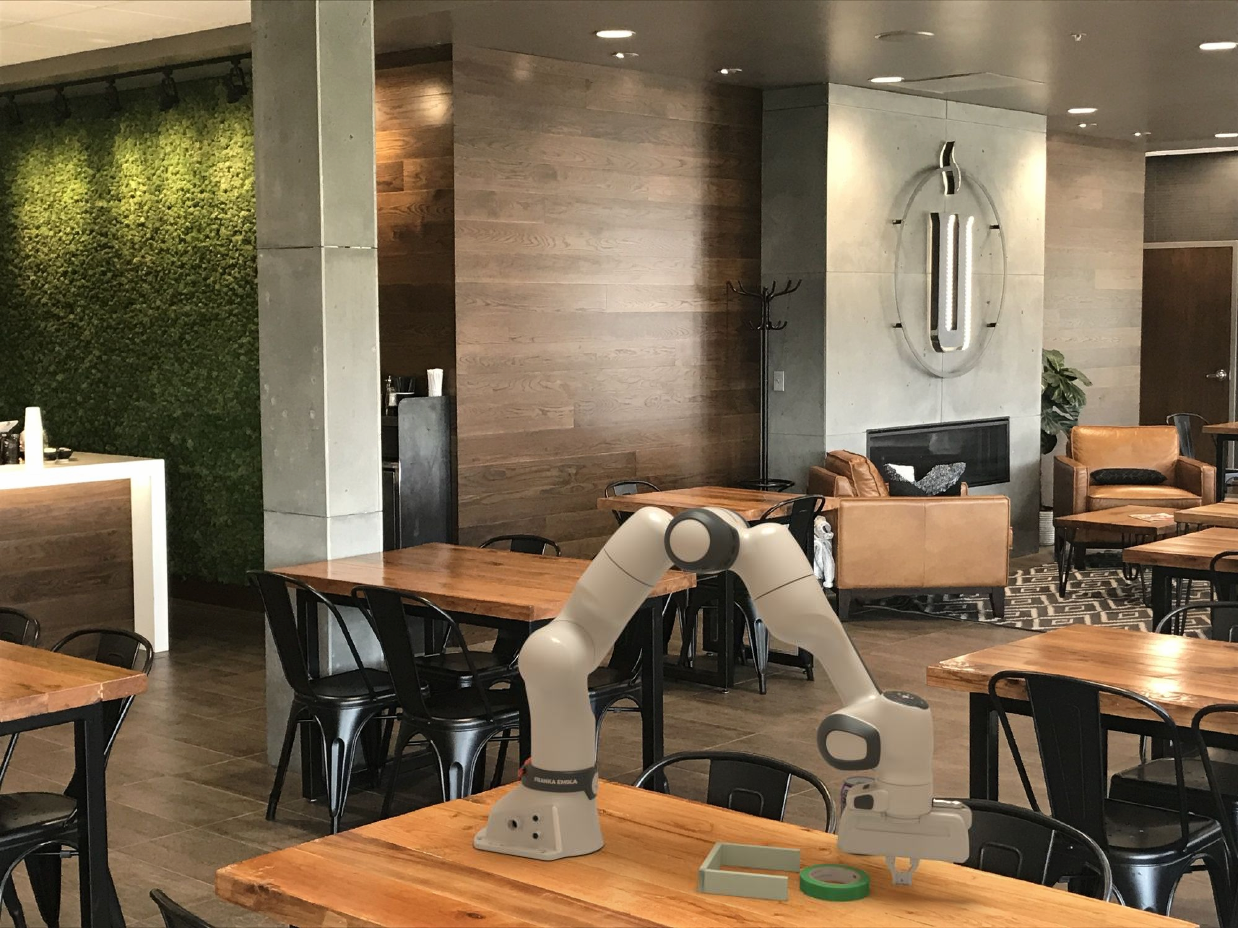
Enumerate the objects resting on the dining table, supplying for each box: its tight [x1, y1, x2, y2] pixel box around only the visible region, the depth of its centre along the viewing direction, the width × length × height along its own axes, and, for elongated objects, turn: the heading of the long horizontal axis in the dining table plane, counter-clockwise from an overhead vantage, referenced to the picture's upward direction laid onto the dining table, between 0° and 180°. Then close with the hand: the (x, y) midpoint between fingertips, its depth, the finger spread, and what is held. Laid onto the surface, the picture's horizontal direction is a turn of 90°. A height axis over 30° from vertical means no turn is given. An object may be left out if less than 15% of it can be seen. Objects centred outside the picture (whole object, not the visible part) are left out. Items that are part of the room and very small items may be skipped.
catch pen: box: [697, 841, 802, 902], centre depth 234 cm, size 14×15×4 cm
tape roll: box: [799, 863, 871, 903], centre depth 231 cm, size 11×11×3 cm
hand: (902, 883), depth 228 cm, fingers closed
